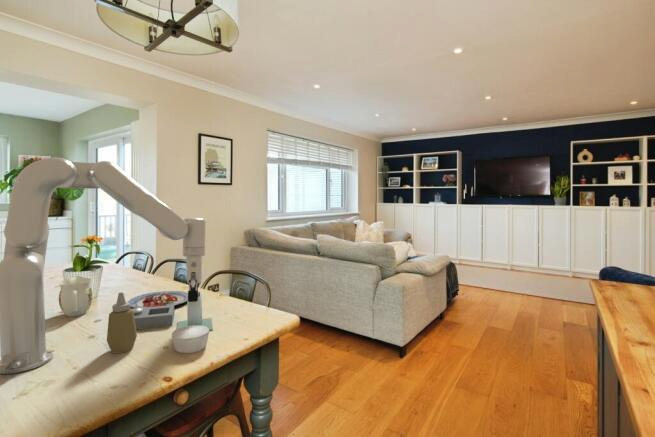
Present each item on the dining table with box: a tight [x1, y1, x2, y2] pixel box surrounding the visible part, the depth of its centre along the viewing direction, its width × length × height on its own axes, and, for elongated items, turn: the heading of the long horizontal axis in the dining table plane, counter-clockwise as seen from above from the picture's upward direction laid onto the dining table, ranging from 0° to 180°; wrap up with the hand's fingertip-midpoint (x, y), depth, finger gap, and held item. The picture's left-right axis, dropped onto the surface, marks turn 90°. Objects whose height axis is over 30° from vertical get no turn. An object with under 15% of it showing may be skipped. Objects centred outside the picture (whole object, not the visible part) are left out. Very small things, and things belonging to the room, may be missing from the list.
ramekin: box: [171, 325, 210, 354], centre depth 107 cm, size 11×11×5 cm
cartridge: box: [186, 290, 203, 326], centre depth 124 cm, size 5×5×12 cm
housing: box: [134, 305, 175, 330], centre depth 128 cm, size 16×12×4 cm
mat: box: [176, 317, 214, 332], centre depth 125 cm, size 12×12×1 cm
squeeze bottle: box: [106, 292, 138, 354], centre depth 104 cm, size 8×8×18 cm
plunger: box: [131, 307, 143, 315], centre depth 126 cm, size 4×4×4 cm
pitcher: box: [58, 275, 93, 317], centre depth 135 cm, size 11×18×14 cm, turn 34°
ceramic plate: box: [127, 290, 188, 309], centre depth 152 cm, size 26×26×3 cm
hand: (193, 297), depth 124 cm, fingers open, 9 cm apart
